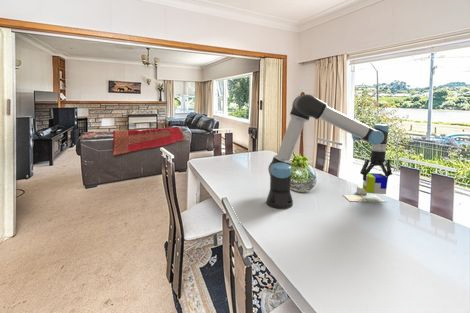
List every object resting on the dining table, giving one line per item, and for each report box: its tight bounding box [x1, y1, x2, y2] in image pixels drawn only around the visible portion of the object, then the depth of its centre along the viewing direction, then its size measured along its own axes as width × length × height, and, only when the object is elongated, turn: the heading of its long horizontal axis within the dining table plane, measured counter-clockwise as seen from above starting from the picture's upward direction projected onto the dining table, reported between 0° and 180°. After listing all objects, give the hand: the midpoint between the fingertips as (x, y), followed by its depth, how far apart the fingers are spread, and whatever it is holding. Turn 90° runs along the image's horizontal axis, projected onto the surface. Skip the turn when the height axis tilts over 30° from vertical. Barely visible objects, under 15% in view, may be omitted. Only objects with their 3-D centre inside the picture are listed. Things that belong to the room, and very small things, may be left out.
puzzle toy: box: [362, 172, 389, 195], centre depth 155 cm, size 10×10×10 cm
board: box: [342, 194, 387, 203], centre depth 157 cm, size 22×11×1 cm, turn 89°
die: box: [356, 185, 368, 195], centre depth 166 cm, size 5×5×5 cm
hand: (374, 185), depth 156 cm, fingers closed on puzzle toy, 11 cm apart
